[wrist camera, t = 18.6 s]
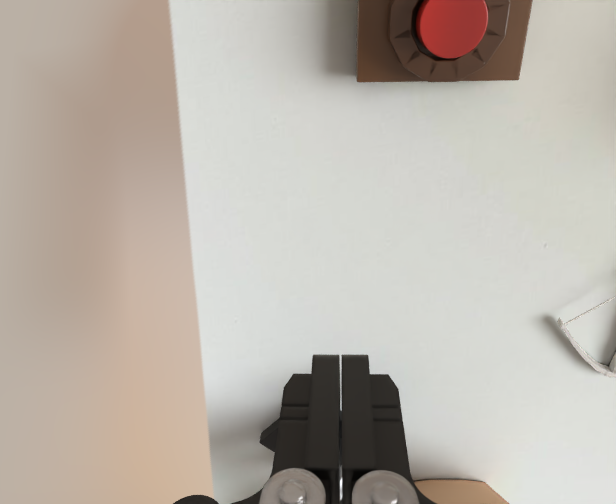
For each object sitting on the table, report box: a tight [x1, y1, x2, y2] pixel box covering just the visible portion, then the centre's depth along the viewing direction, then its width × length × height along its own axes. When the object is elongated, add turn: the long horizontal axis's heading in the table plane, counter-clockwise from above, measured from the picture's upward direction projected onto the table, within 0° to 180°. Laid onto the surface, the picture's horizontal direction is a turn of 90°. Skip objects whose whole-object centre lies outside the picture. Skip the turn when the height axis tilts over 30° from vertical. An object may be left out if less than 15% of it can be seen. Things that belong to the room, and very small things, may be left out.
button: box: [416, 0, 488, 58], centre depth 27 cm, size 4×4×2 cm
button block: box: [356, 0, 533, 82], centre depth 29 cm, size 10×7×4 cm
